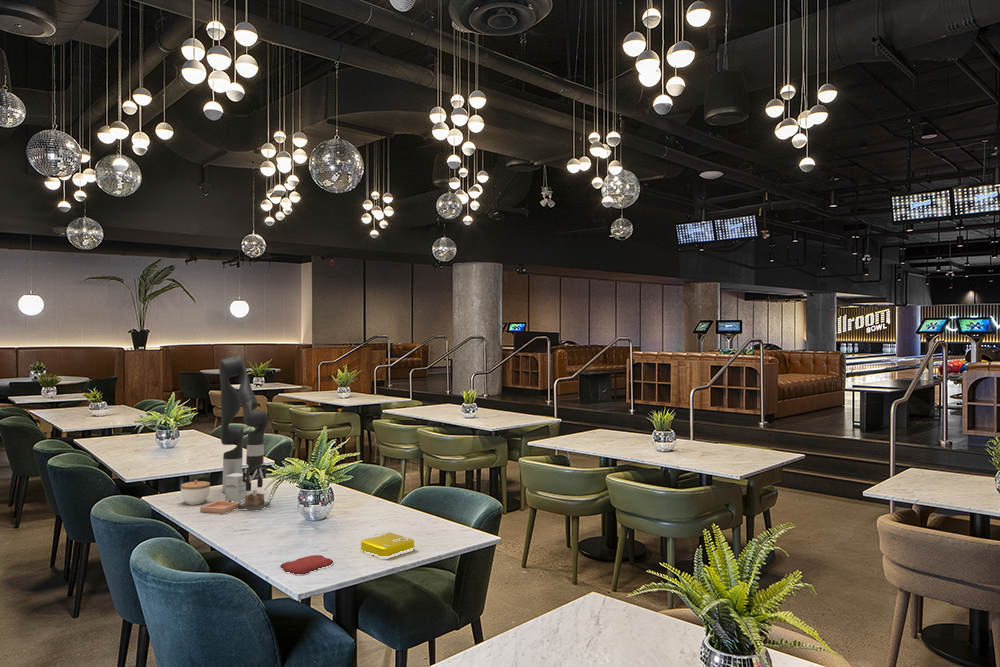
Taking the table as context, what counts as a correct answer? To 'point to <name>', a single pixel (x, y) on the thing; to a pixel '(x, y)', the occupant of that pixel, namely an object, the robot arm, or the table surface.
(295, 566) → the patty
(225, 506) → the terracotta tray
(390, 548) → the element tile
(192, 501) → the lidded bowl
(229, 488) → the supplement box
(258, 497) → the brown wooden box
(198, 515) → the table surface
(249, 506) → the post stand
